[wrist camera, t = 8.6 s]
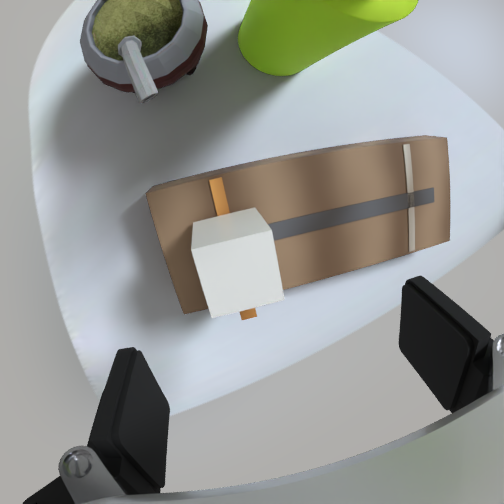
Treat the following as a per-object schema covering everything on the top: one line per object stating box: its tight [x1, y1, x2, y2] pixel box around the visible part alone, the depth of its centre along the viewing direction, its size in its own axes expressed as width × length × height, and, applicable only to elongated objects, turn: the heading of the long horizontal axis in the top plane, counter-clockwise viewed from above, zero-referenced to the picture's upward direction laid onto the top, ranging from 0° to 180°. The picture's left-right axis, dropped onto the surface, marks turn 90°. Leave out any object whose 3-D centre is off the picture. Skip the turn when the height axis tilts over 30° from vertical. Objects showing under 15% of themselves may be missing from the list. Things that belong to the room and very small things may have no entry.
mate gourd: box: [80, 0, 208, 103], centre depth 12 cm, size 8×8×15 cm
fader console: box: [146, 135, 450, 320], centre depth 22 cm, size 23×9×6 cm, turn 102°
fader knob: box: [191, 207, 285, 318], centre depth 18 cm, size 4×4×5 cm
